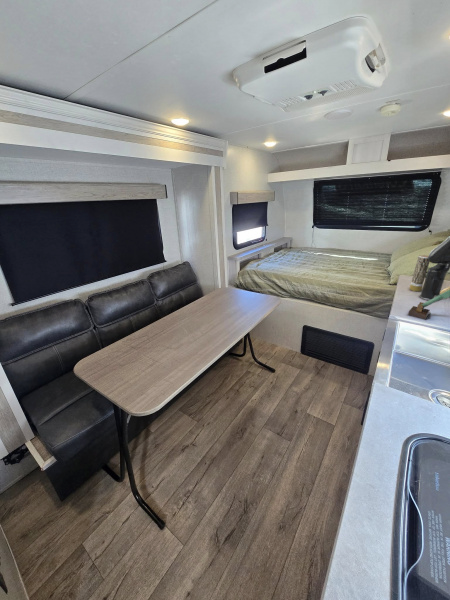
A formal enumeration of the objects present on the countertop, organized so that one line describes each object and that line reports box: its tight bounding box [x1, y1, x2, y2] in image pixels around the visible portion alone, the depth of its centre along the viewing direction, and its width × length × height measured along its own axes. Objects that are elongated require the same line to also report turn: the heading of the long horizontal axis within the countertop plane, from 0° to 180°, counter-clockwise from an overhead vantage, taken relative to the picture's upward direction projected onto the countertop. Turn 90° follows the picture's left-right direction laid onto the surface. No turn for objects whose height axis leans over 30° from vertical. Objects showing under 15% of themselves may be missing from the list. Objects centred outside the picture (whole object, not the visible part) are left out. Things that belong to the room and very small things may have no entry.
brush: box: [421, 285, 450, 309], centre depth 132 cm, size 5×4×19 cm
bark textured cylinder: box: [409, 254, 430, 292], centre depth 170 cm, size 7×7×25 cm
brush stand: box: [407, 301, 431, 320], centre depth 139 cm, size 9×8×7 cm
